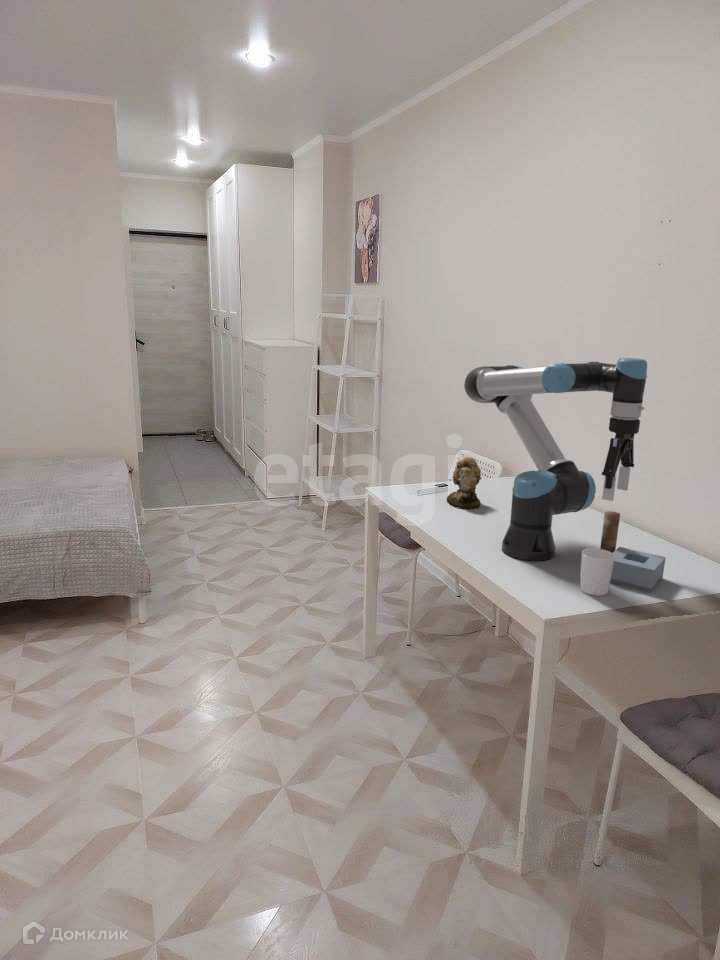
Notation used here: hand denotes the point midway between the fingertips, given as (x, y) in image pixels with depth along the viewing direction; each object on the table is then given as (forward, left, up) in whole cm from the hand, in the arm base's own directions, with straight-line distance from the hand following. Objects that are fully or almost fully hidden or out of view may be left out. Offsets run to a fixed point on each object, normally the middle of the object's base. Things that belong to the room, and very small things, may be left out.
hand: (615, 494), depth 183 cm
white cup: (+3, -21, -21) cm, 29 cm away
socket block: (+9, -6, -20) cm, 23 cm away
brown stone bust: (-60, +28, -21) cm, 69 cm away
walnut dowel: (0, 0, -20) cm, 20 cm away
